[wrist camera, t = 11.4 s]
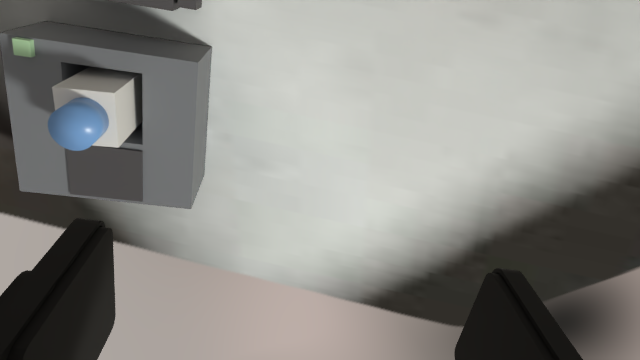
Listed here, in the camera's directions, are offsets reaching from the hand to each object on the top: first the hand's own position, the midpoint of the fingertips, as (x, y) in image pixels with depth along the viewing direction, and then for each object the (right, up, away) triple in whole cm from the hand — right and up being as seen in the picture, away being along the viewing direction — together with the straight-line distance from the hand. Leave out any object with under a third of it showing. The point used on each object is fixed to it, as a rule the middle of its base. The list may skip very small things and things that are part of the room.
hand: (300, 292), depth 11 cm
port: (-15, +9, +25) cm, 30 cm away
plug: (-14, +10, +23) cm, 29 cm away
